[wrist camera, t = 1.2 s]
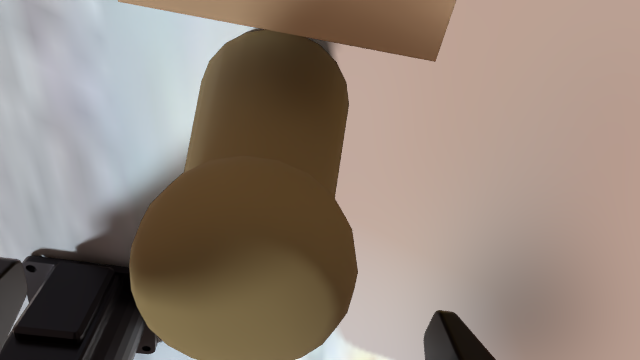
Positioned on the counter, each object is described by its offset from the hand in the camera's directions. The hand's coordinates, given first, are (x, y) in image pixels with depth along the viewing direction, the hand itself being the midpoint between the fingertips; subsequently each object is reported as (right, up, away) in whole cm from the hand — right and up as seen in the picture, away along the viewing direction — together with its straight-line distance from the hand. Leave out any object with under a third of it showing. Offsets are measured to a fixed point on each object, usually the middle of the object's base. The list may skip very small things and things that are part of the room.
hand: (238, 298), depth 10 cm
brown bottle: (0, +6, +9) cm, 10 cm away
